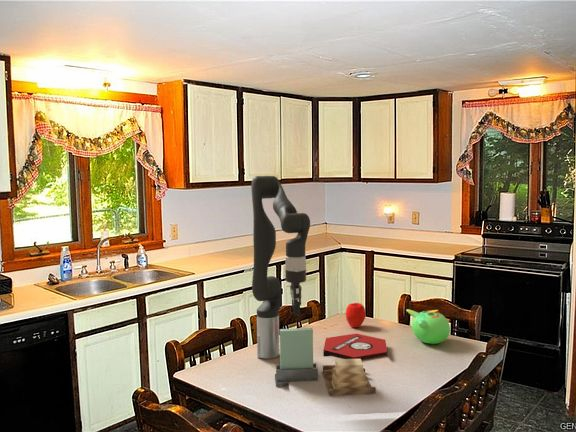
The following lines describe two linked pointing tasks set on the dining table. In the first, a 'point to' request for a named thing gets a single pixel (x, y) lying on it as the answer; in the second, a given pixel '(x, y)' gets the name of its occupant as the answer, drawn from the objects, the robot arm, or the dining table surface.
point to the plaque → (355, 347)
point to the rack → (327, 378)
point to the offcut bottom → (348, 384)
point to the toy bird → (430, 326)
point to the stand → (295, 375)
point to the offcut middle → (349, 377)
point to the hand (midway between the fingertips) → (295, 311)
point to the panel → (296, 348)
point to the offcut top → (348, 366)
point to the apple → (355, 314)
